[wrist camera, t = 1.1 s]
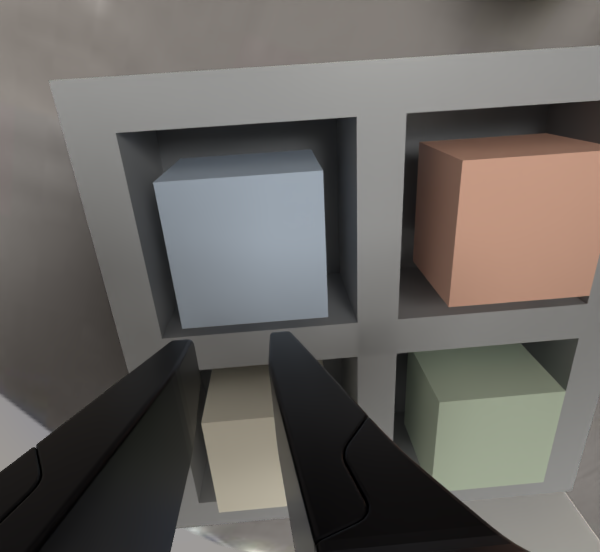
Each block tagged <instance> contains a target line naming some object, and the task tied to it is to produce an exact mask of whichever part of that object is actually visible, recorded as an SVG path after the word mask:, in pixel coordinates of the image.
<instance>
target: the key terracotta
mask: <svg viewBox="0 0 600 552" xmlns="http://www.w3.org/2000/svg"><path fill="white" fill-rule="evenodd" d="M599 255H600V144H598V143H593V142H588V141H583V140H578V139H573V138H568V137H563V136H558V135H553V134H548V133H541V134H526V135H512V136H498V137H483V138H469V139H454V140H440V141H425V142H419V157H418V176H417V194H416V213H415V231H414V250H413V262H414V263H415V264H416V266H417V267H418V268H419V270H420V271H421V272H422V273H423V275H424V276H425V277H426V279H427V280H428V281H429V283H430V284H431V285H432V286H433V288H434V289H435V290H436V292H437V293H438V294H439V295H440V297H441V298H442V299H443V301H444V302H445V303H446V304H447V306H448V307H458V306H470V305H483V304H495V303H507V302H520V301H532V300H544V299H557V298H569V297H581V296H589V295H590V291H591V287H592V283H593V279H594V275H595V271H596V267H597V263H598V259H599Z"/></svg>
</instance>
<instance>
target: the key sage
mask: <svg viewBox="0 0 600 552" xmlns="http://www.w3.org/2000/svg"><path fill="white" fill-rule="evenodd" d="M565 393H566V391H565V390H564V389H563V388H562V387H561V386H560V385H559V384H558V382H557V381H556V380H555V379H554V378H553V377H552V376H551V375H550V374H549V373H548V372H547V371H546V370H545V369H544V368H543V367H542V365H541V364H540V363H539V362H538V361H537V360H536V359H535V358H534V357H533V356H532V355H531V354H530V353H529V352H528V351H527V350H526V348H525V347H524V346H523V345H522V344H521V343H515V344H504V345H492V346H480V347H468V348H456V349H444V350H432V351H420V352H408V361H407V379H406V398H405V416H404V424H405V427H406V429H407V432H408V435H409V437H410V440H411V442H412V445H413V448H414V450H415V453H416V455H417V458H418V461H419V463H420V466H421V468H423V469H424V470H425V471H426V472H427V473H428V474H430V475H431V476H432V477H433V478H434V479H436V480H437V481H438V482H439V483H440V484H442V485H443V486H444V487H445V488H446V489H448V490H449V491H455V490H466V489H476V488H487V487H498V486H508V485H519V484H529V483H540V482H544V478H545V474H546V470H547V466H548V462H549V458H550V454H551V450H552V445H553V441H554V437H555V433H556V429H557V425H558V421H559V417H560V413H561V409H562V405H563V401H564V397H565Z"/></svg>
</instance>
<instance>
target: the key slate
mask: <svg viewBox="0 0 600 552" xmlns="http://www.w3.org/2000/svg"><path fill="white" fill-rule="evenodd" d="M153 185H154V190H155V195H156V200H157V205H158V210H159V215H160V220H161V225H162V230H163V235H164V240H165V245H166V250H167V255H168V260H169V265H170V270H171V275H172V280H173V285H174V290H175V295H176V300H177V305H178V310H179V315H180V320H181V325H182V329H187V328H199V327H212V326H224V325H236V324H249V323H261V322H273V321H286V320H298V319H310V318H323V317H328V295H327V267H326V240H325V212H324V184H323V170H322V168H321V166H320V164H319V162H318V161H317V159H316V157H315V155H314V153H313V152H312V150H311V149H310V150H296V151H281V152H267V153H252V154H238V155H224V156H209V157H195V158H180V159H179V160H178V161H177V162H176V163H175V164H174V165H172V166H171V167H170V168H169V169H168V170H167V171H166V172H165V173H163V174H162V175H161V176H160V177H159V178H158V179H157V180H155V181H154V182H153Z"/></svg>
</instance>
